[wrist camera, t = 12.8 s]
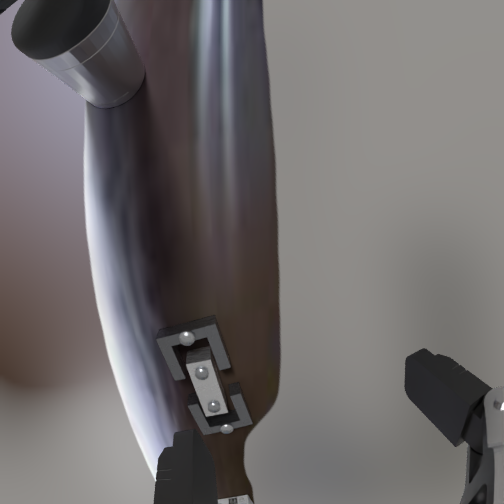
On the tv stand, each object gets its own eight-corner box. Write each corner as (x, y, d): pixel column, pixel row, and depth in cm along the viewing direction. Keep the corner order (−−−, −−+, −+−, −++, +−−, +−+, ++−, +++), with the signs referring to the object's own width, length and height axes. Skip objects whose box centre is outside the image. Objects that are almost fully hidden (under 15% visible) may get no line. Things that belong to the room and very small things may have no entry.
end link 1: (158, 327, 39) (154, 339, 35) (214, 313, 39) (215, 324, 36) (176, 369, 40) (174, 383, 37) (229, 356, 41) (231, 369, 38)
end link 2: (250, 413, 44) (253, 427, 40) (203, 424, 43) (204, 438, 39) (238, 382, 42) (241, 395, 39) (188, 394, 41) (187, 408, 38)
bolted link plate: (187, 349, 40) (185, 366, 36) (210, 345, 41) (210, 361, 36) (205, 400, 42) (206, 418, 38) (226, 396, 43) (228, 414, 38)
